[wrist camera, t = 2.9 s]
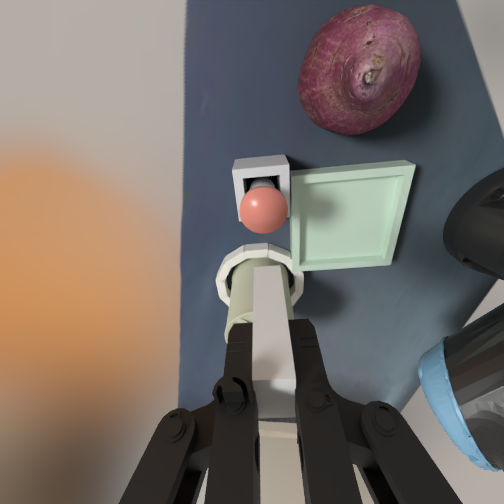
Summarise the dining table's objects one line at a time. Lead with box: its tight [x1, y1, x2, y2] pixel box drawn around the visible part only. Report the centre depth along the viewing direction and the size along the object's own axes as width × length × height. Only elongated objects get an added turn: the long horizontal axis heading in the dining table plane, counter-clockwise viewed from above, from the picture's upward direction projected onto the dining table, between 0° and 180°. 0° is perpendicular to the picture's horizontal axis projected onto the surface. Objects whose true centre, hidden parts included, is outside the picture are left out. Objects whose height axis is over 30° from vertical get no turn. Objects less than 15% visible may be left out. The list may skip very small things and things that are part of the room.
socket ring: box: [216, 243, 304, 307], centre depth 40 cm, size 14×14×2 cm
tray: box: [289, 160, 416, 272], centre depth 33 cm, size 14×14×2 cm
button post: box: [232, 154, 290, 221], centre depth 30 cm, size 6×6×5 cm
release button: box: [239, 177, 288, 234], centre depth 26 cm, size 5×5×6 cm
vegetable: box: [297, 4, 421, 135], centre depth 21 cm, size 10×10×15 cm
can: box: [225, 257, 294, 343], centre depth 35 cm, size 9×9×12 cm
